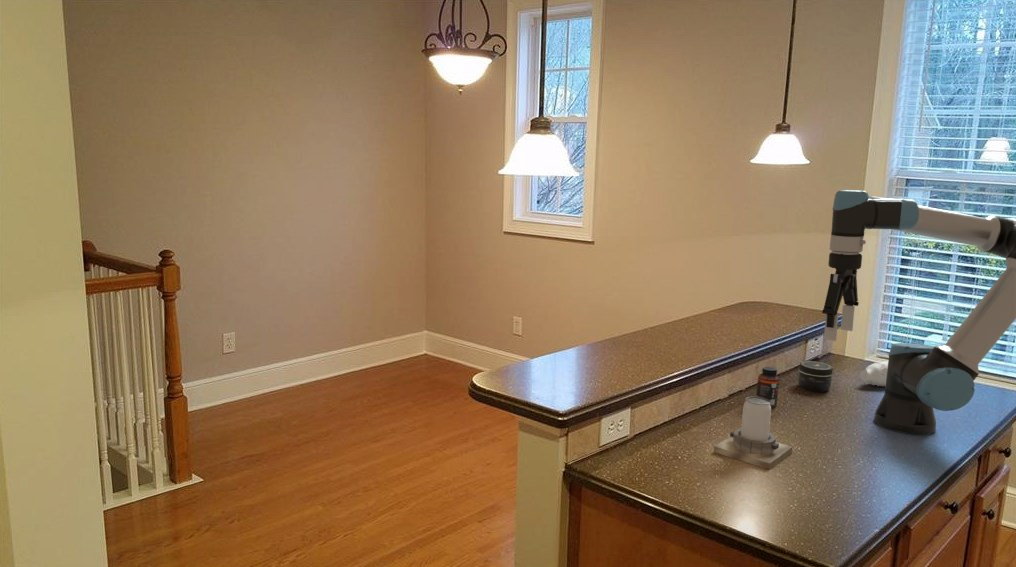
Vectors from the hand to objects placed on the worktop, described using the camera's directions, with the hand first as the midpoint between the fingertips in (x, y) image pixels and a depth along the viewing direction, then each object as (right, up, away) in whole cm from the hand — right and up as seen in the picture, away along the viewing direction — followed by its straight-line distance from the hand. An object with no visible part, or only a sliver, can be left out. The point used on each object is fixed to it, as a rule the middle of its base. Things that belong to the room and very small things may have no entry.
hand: (838, 334), depth 188 cm
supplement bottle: (-8, -23, +29) cm, 38 cm away
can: (-24, -27, -6) cm, 37 cm away
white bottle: (+40, -20, +52) cm, 69 cm away
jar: (+13, -20, +47) cm, 53 cm away
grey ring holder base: (-24, -29, -6) cm, 38 cm away
